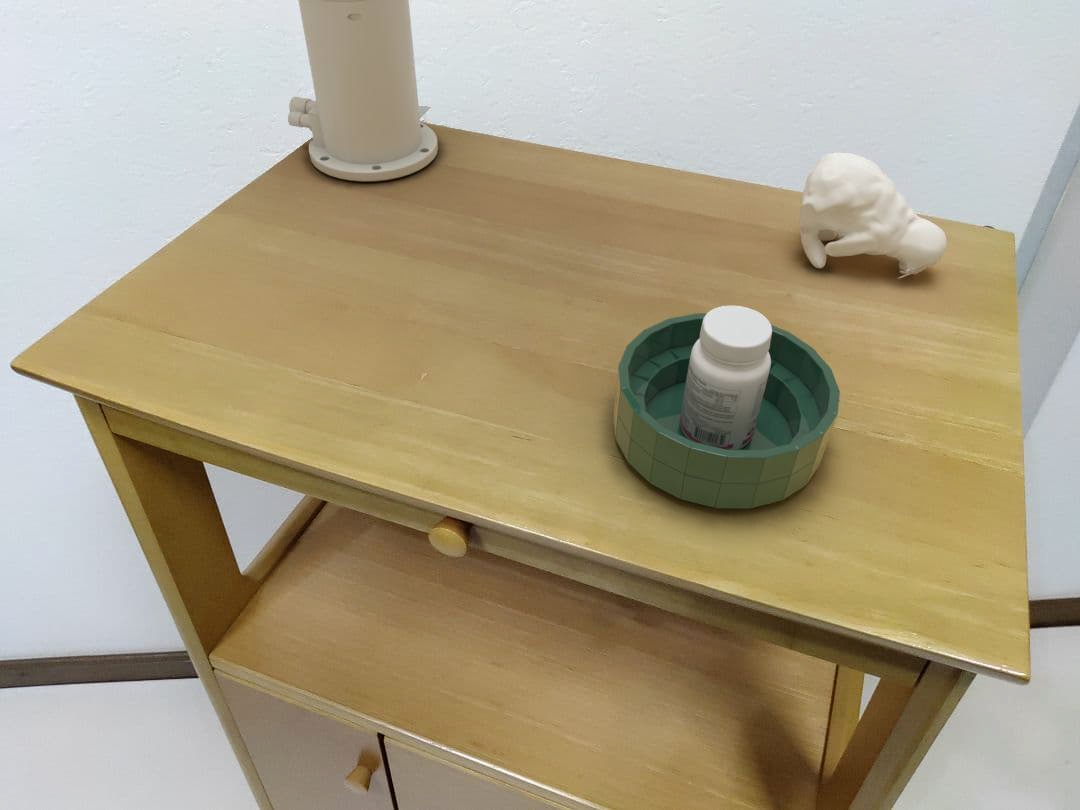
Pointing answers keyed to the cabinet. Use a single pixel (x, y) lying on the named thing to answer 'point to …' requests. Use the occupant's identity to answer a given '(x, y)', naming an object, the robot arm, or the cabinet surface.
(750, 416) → the pill bottle
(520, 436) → the cabinet surface
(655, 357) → the bowl
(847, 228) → the white irregular piece
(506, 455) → the cabinet surface
